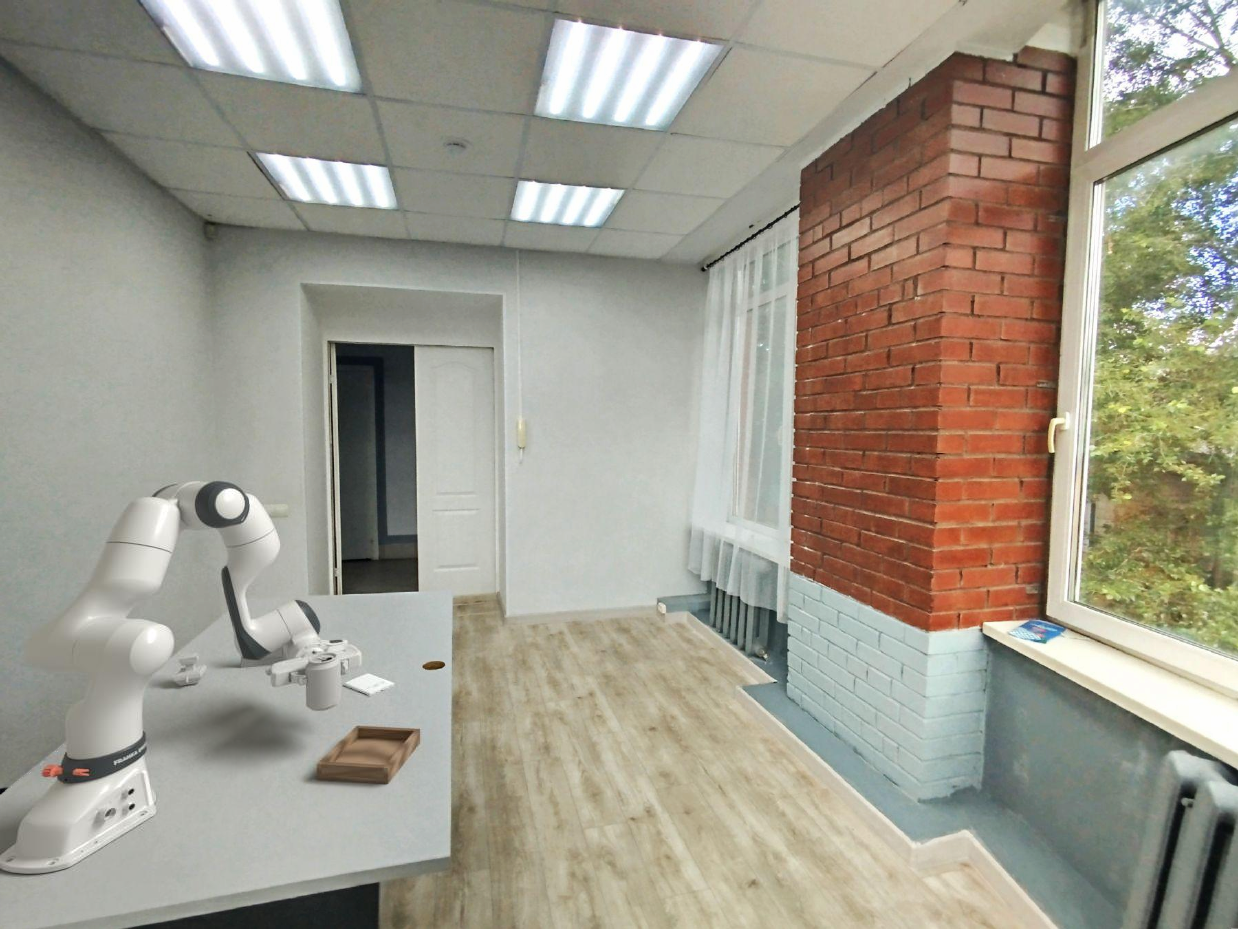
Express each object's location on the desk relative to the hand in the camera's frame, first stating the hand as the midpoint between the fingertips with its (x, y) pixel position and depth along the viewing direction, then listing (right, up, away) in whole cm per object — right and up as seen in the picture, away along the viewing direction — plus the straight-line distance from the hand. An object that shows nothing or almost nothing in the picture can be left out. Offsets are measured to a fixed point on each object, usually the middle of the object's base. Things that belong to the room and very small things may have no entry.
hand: (324, 676), depth 135 cm
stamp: (-57, -15, +33) cm, 68 cm away
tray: (+14, -17, -5) cm, 23 cm away
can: (-1, -7, +1) cm, 8 cm away
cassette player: (-42, -14, +47) cm, 65 cm away
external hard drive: (-3, -16, +32) cm, 36 cm away
